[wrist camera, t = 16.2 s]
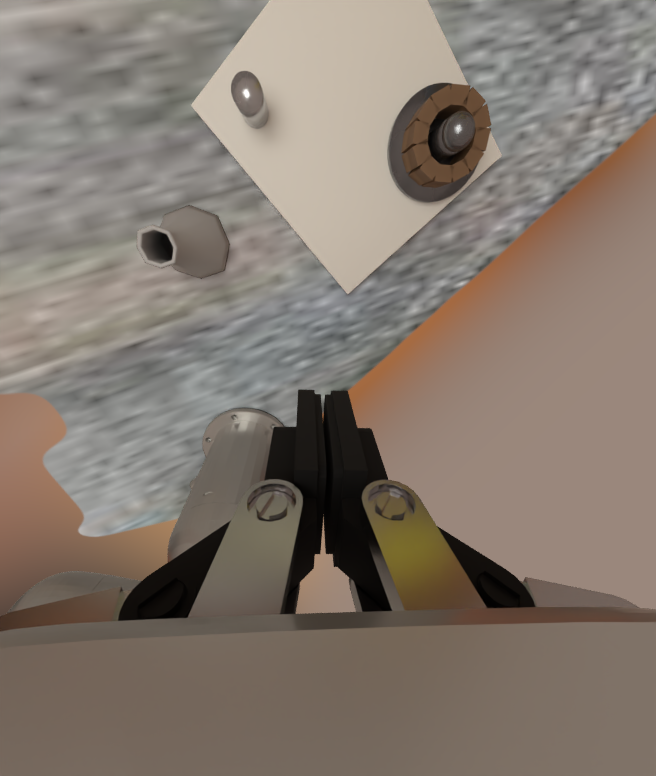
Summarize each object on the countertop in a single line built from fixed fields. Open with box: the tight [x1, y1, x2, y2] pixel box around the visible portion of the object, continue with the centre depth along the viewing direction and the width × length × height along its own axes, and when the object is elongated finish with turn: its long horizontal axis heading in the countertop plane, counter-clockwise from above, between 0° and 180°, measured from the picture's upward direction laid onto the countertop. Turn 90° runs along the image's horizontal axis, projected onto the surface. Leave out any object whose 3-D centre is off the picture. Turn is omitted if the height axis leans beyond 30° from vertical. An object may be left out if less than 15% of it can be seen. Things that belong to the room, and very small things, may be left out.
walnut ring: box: [401, 84, 491, 188], centre depth 27 cm, size 6×6×4 cm
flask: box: [137, 205, 229, 279], centre depth 29 cm, size 7×7×10 cm
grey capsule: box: [231, 71, 269, 129], centre depth 26 cm, size 2×2×4 cm
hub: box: [387, 83, 479, 203], centre depth 27 cm, size 9×9×7 cm
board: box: [191, 0, 502, 294], centre depth 30 cm, size 20×22×2 cm
